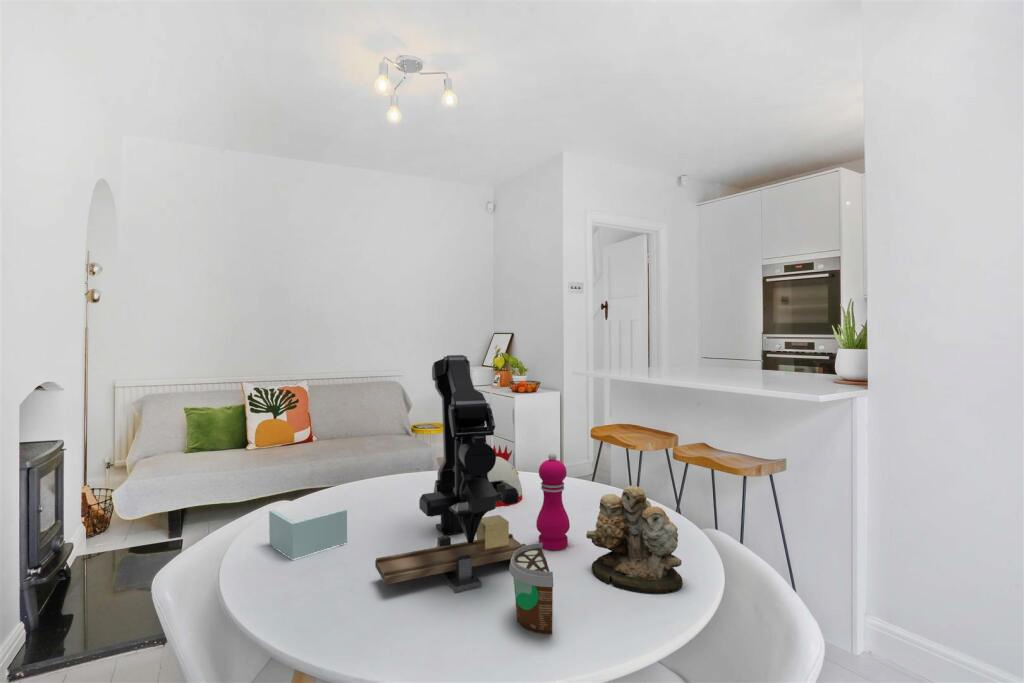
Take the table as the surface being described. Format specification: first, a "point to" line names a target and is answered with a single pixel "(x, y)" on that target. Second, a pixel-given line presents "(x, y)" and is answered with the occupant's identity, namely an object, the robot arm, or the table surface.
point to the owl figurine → (636, 544)
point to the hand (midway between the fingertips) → (470, 542)
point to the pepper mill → (553, 506)
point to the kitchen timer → (505, 473)
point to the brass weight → (492, 533)
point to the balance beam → (438, 560)
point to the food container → (532, 588)
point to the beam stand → (460, 571)
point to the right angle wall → (307, 533)
